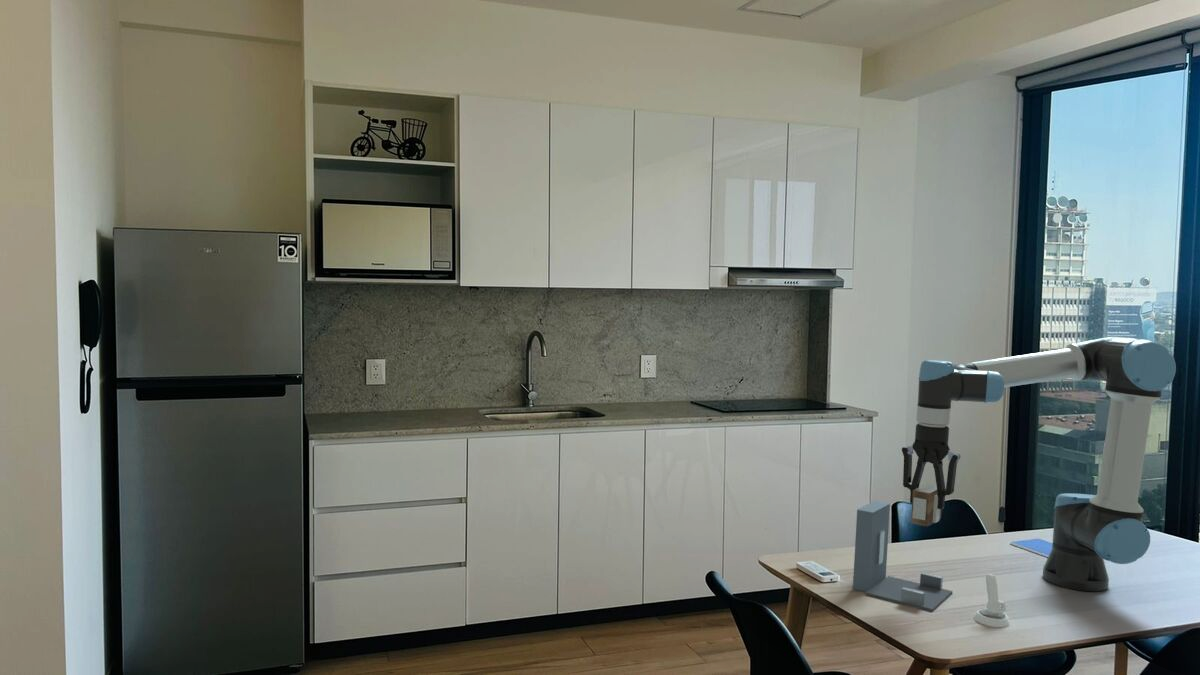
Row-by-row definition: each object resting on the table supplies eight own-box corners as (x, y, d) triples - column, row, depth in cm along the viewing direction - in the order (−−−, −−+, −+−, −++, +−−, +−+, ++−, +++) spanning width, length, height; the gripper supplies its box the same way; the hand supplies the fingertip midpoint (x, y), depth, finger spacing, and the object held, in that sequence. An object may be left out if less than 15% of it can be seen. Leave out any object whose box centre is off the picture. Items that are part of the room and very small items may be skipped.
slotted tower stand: (952, 593, 218) (957, 514, 216) (932, 611, 205) (937, 527, 204) (873, 574, 230) (877, 499, 228) (849, 590, 217) (854, 511, 216)
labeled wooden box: (940, 518, 217) (942, 486, 216) (926, 527, 208) (929, 493, 208) (924, 515, 219) (926, 483, 219) (909, 523, 211) (912, 490, 210)
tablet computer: (1096, 561, 249) (1096, 557, 249) (1065, 566, 244) (1065, 561, 244) (1038, 542, 267) (1038, 537, 267) (1008, 545, 262) (1008, 541, 262)
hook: (990, 585, 210) (1010, 577, 204) (997, 636, 203) (1018, 629, 197) (962, 579, 208) (982, 571, 202) (969, 631, 201) (990, 624, 196)
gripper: (974, 427, 210) (966, 523, 212) (902, 418, 220) (896, 509, 222) (964, 431, 204) (957, 530, 206) (892, 421, 215) (885, 515, 216)
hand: (925, 519), depth 214 cm, fingers closed on labeled wooden box, 4 cm apart
